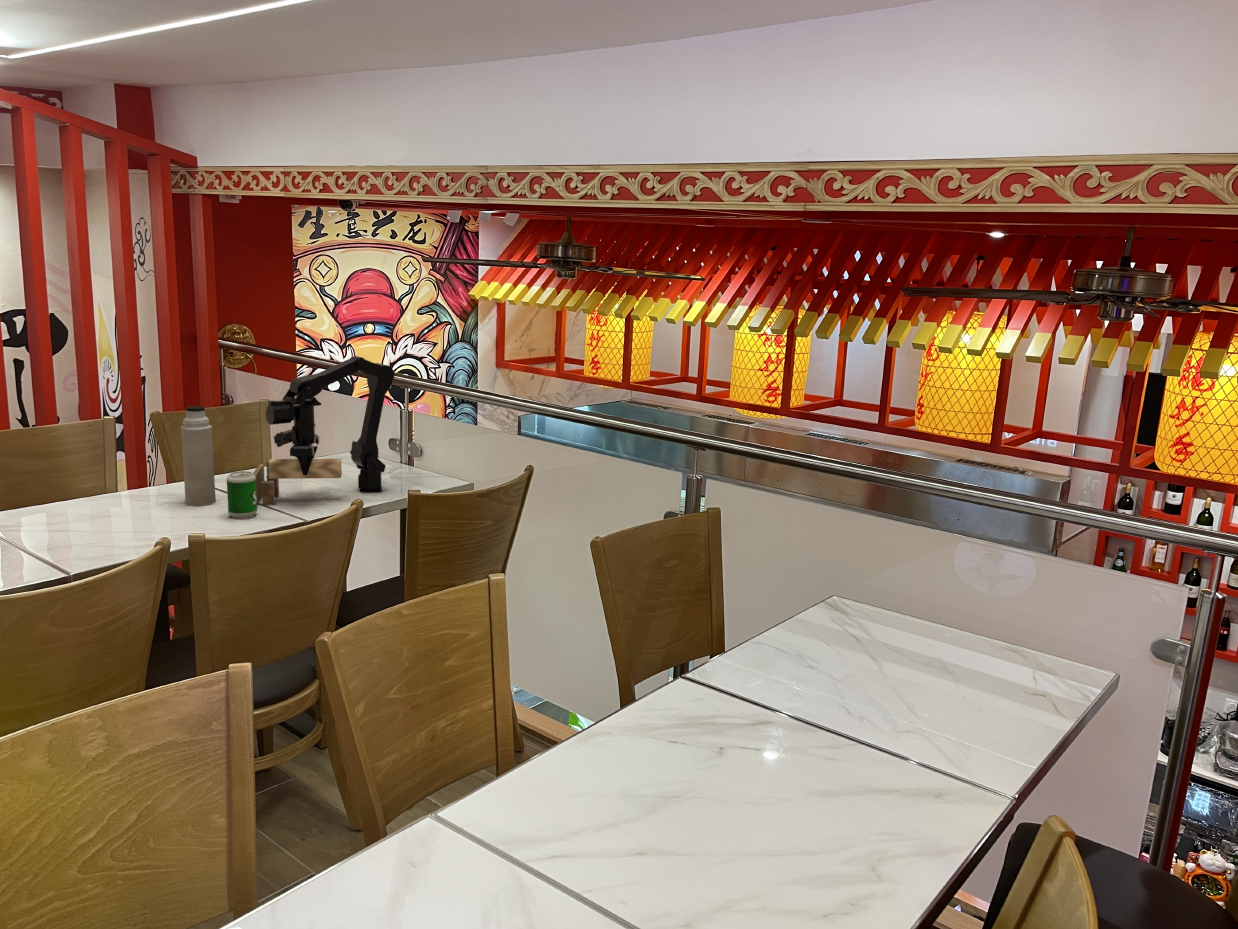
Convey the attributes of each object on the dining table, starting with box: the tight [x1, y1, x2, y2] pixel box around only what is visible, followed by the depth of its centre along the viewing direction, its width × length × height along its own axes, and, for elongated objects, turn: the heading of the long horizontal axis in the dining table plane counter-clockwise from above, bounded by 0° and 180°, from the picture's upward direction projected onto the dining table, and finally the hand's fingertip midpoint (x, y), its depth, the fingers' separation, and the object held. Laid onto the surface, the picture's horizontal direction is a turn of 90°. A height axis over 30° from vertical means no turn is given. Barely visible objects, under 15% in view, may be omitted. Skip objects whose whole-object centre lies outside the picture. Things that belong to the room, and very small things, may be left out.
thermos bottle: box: [180, 405, 217, 507], centre depth 270 cm, size 8×8×28 cm
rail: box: [266, 458, 343, 480], centre depth 279 cm, size 21×4×5 cm, turn 101°
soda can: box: [226, 470, 258, 519], centre depth 261 cm, size 8×8×12 cm
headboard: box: [252, 463, 280, 506], centre depth 278 cm, size 6×16×9 cm, turn 11°
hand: (306, 473), depth 279 cm, fingers closed on rail, 4 cm apart
